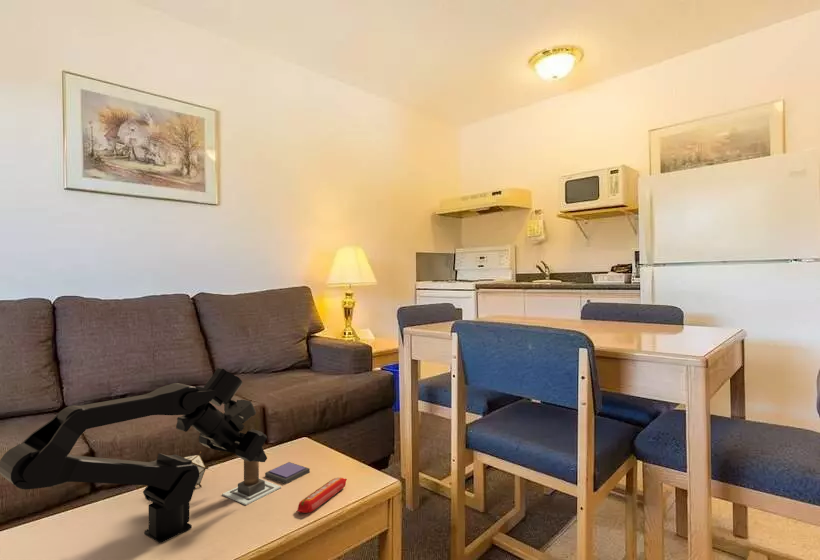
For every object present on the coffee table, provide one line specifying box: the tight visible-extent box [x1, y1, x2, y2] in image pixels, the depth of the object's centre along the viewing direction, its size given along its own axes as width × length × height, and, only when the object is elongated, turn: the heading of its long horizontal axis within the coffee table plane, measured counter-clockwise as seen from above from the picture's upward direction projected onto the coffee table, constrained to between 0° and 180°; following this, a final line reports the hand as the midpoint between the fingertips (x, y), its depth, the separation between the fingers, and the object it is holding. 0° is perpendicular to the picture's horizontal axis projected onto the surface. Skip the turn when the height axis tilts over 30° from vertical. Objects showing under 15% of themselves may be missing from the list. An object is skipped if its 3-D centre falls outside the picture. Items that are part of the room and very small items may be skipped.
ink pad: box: [264, 461, 311, 485], centre depth 113 cm, size 8×8×1 cm
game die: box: [182, 451, 210, 488], centre depth 106 cm, size 9×8×10 cm
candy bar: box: [296, 477, 347, 514], centre depth 100 cm, size 16×4×3 cm, turn 155°
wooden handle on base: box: [237, 460, 266, 497], centre depth 103 cm, size 4×4×13 cm
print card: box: [222, 478, 282, 506], centre depth 104 cm, size 10×9×1 cm
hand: (253, 456), depth 104 cm, fingers open, 9 cm apart
